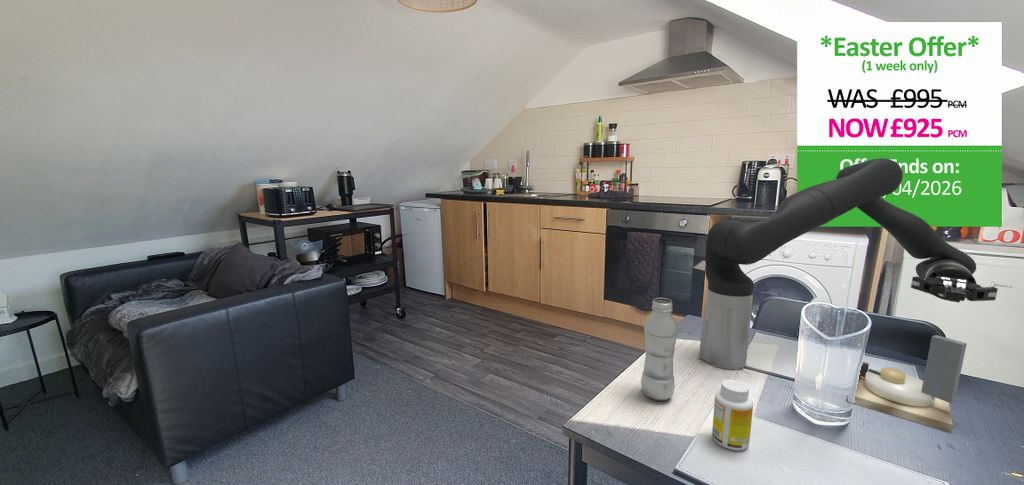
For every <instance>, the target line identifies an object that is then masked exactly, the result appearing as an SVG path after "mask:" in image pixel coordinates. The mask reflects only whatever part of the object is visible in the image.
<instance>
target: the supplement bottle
mask: <svg viewBox="0 0 1024 485" xmlns="http://www.w3.org/2000/svg"><path fill="white" fill-rule="evenodd" d="M749 392H750V387H749V386H748V385H747V384H746V383H745V382H742V381H740V380H736V379H730V378H729V379H724V380H722V382H721V386H720V389H719V390H717V391H716V392H715V395H714V404H713V415H712V416H713V419H712V428H711V429H712V430H711V435H712V438H713V440H714V441H715V443H717V444H718V445H719V446H721V447H722V448H725V449H728V450H731V451H738V452H739V451H744V450H746V449H748V448H749V445H750V442H751V440H750V439H751V429H752V419H753V411H754V401H753V399H752V397H750V394H749Z"/></svg>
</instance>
